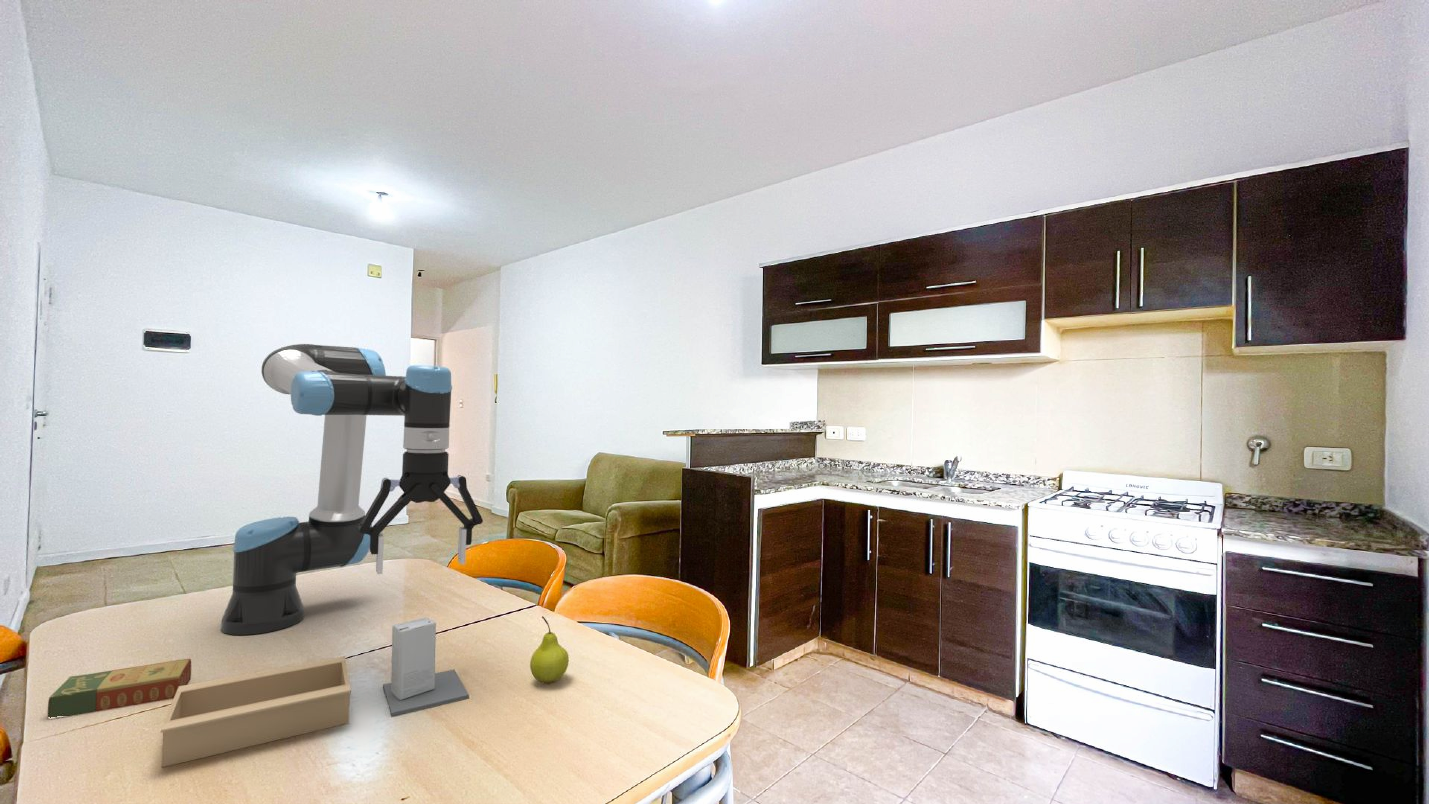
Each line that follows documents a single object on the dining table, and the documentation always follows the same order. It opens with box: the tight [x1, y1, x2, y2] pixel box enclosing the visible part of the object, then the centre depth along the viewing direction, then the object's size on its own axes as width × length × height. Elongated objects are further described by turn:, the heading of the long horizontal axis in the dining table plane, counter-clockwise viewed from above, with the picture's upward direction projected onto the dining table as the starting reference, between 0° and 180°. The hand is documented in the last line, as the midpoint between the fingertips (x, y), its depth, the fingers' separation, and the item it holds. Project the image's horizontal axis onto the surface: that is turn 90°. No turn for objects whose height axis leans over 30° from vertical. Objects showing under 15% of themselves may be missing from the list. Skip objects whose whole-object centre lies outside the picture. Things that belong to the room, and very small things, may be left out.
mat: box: [382, 669, 470, 718], centre depth 106 cm, size 12×12×1 cm
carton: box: [47, 658, 192, 718], centre depth 102 cm, size 8×16×4 cm, turn 121°
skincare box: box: [390, 616, 437, 700], centre depth 105 cm, size 6×4×12 cm
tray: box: [160, 655, 352, 768], centre depth 94 cm, size 15×22×6 cm
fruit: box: [529, 615, 570, 685], centre depth 112 cm, size 7×7×12 cm
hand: (421, 567), depth 109 cm, fingers open, 13 cm apart
